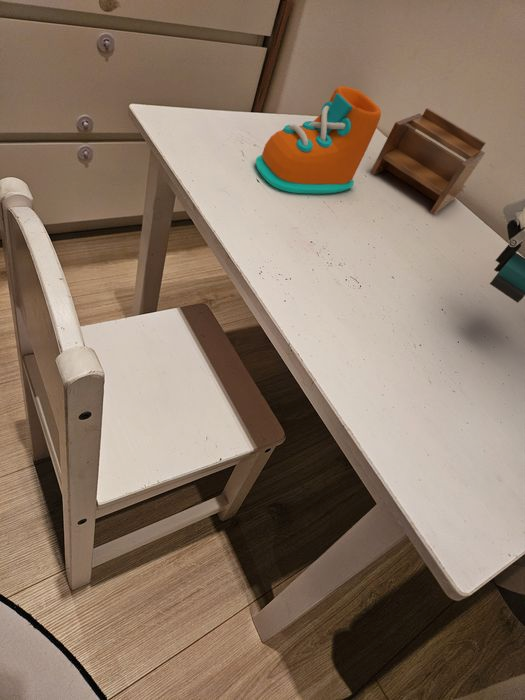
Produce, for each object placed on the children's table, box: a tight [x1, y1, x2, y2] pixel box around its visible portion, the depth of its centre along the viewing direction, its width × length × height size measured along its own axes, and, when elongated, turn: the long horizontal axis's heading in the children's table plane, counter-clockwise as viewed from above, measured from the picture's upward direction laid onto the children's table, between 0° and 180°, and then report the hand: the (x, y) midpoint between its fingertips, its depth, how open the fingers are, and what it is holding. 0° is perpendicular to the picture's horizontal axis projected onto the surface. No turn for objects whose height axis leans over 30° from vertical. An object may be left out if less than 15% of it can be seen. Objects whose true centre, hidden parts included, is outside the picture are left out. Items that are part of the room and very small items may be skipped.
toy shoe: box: [255, 85, 382, 195], centre depth 82 cm, size 12×20×15 cm, turn 117°
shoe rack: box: [369, 107, 487, 216], centre depth 94 cm, size 16×12×13 cm
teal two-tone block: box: [489, 252, 525, 303], centre depth 65 cm, size 10×4×3 cm, turn 141°
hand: (515, 277), depth 65 cm, fingers closed on teal two-tone block, 4 cm apart
